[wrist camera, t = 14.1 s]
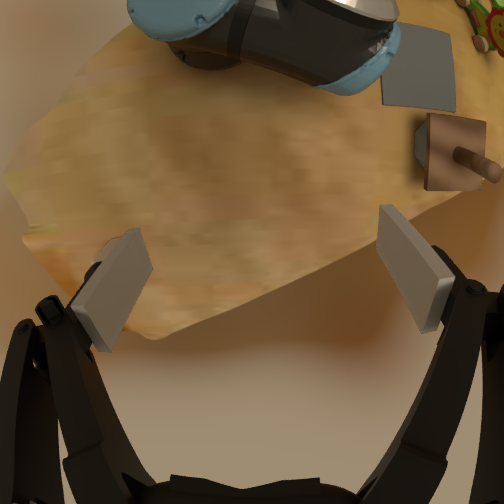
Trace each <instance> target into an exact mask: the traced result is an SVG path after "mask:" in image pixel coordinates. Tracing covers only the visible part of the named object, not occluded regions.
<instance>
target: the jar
mask: <svg viewBox="0 0 504 504" xmlns="http://www.w3.org/2000/svg"><path fill="white" fill-rule="evenodd" d="M121 238H122V237H119V238H113V239H111V240H110V241H109V242H108V243H107V244H106V245H105V247H104V248H103V249H102V250H101V251H100V253H99V254H98V255H97V256H96V257H95V259H94V260H93V261H92V262H91V267H90V268H89V270H88V271H87V272H86V274H85V277H84V281H86V280H87V279H88V278H89V277H91V276H92V275H93V273H94V272H95V271H96V269H97V268H98V267H99V266H100V264H101V263H102V262H103V260H104V259H105V258H106V257H107V255H108V254H109V253H110V251H111V250H112V249H113V248H114V247H115V245H116V244H117V243H118V242H119V240H120V239H121Z"/></svg>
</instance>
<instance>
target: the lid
mask: <svg viewBox="0 0 504 504" xmlns="http://www.w3.org/2000/svg"><path fill="white" fill-rule="evenodd" d="M485 143H486V122H485V121H481V120H475V119H470V118H464V117H457V116H450V115H443V114H435V113H427V143H426V166H425V180H424V189H425V190H426V191H481V184H482V177H484V178H485V179H487V180H489V181H490V182H492V183H497V182H498V181H499V180H500V179H501V176H502V168H501V166H500V165H499V164H498V163H496V162H494V161H491V160H489V159H487V158H485Z"/></svg>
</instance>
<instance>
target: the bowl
mask: <svg viewBox="0 0 504 504" xmlns="http://www.w3.org/2000/svg"><path fill="white" fill-rule="evenodd" d="M426 143H427V119H426V121H425V122H424V123H423V124H422V125H421V126H420V127H419V128H418V129H417V131H416V132H415V157H416V159H417V160H418V161H419V162H420V164H421V165H422V166H423V168H424V169H425V166H426Z"/></svg>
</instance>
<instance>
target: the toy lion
mask: <svg viewBox="0 0 504 504" xmlns="http://www.w3.org/2000/svg"><path fill="white" fill-rule="evenodd" d="M489 1H490V2H491V5H492V11H491V13H489V12H488V11H487V10H486V9H485V8H484V7H483V6H482V5H481V0H456V2H457V3H458V4H459V5H460V6H462V7H467V8H468V9H469V11H470V12H471V14H472V16H473V18H474V21H475V23H476V27H477V31H478V35H475V36H474V37H473V42H474V45H475V47H476V48H477V50H479V51H480V52H487V51H488V49H490V50H492V51H496V50H497V51H498V53H499V55H500V56H501V57H503V58H504V4H503V2H502V1H501V0H489Z"/></svg>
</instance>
